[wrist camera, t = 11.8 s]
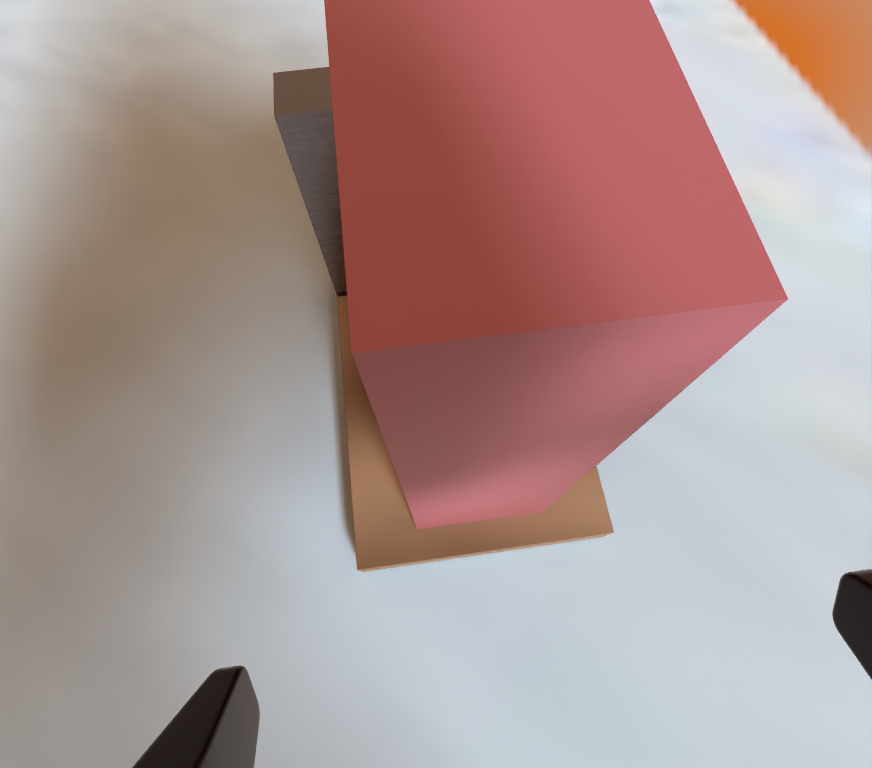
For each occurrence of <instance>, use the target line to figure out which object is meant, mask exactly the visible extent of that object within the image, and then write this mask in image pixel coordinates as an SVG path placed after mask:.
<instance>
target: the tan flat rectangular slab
mask: <svg viewBox="0 0 872 768" xmlns="http://www.w3.org/2000/svg"><path fill="white" fill-rule="evenodd" d="M337 301H338V315H339V329H340V342H341V356H342V369H343V383H344V397H345V410H346V424H347V437H348V451H349V465H350V478H351V492H352V505H353V519H354V533H355V546H356V560H357V570H359V571H362V572H364V571H371V570H378V569H385V568H392V567H398V566H405V565H412V564H419V563H426V562H433V561H440V560H446V559H453V558H460V557H467V556H474V555H481V554H488V553H494V552H501V551H508V550H515V549H522V548H529V547H535V546H542V545H549V544H556V543H563V542H570V541H577V540H583V539H590V538H597V537H603V536H606V535H608V534H611V533H613V532H614V531H613V527H612V524H611V520H610V516H609V512H608V508H607V505H606V501H605V497H604V493H603V489H602V486H601V482H600V478H599V474H598V470H597V467H596V466H595V467H594V468H593V469H592V470H591V471H589V472H588V473H587V474H586V475H585V476H584V477H583V478H581V479H580V480H579V481H578V482H577V483H576V484H575V485H573V486H572V487H571V488H570V489H569V490H568V491H566V492H565V493H564V494H563V495H562V496H561V497H560V498H558V499H557V500H556V501H555V502H554V503H553V504H552V505H550V506H549V507H548V508H547V509H546V510H545V511H543V512H539V513H532V514H524V515H517V516H510V517H503V518H496V519H488V520H481V521H474V522H467V523H460V524H452V525H445V526H438V527H431V528H424V529H417V527H416V524H415V522H414V519H413V516H412V514H411V511H410V508H409V506H408V503H407V500H406V498H405V495H404V492H403V489H402V487H401V484H400V481H399V479H398V476H397V473H396V471H395V468H394V465H393V463H392V460H391V457H390V455H389V452H388V449H387V447H386V444H385V441H384V439H383V436H382V433H381V431H380V428H379V425H378V422H377V420H376V417H375V414H374V412H373V409H372V406H371V404H370V401H369V398H368V396H367V393H366V390H365V388H364V385H363V382H362V380H361V377H360V374H359V372H358V369H357V366H356V364H355V361H354V358H353V355H352V350H351V337H350V324H349V312H348V299H347V296H339V297H337Z"/></svg>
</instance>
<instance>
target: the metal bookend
mask: <svg viewBox="0 0 872 768" xmlns="http://www.w3.org/2000/svg"><path fill="white" fill-rule="evenodd" d="M273 77H274V116H275V119H276V122H277V125H278V128H279V131H280V133H281V136H282V139H283V142H284V145H285V148H286V151H287V153H288V156H289V159H290V162H291V165H292V168H293V171H294V173H295V176H296V179H297V182H298V185H299V188H300V191H301V193H302V196H303V199H304V202H305V205H306V208H307V211H308V214H309V216H310V219H311V222H312V225H313V228H314V231H315V234H316V236H317V239H318V242H319V245H320V248H321V251H322V254H323V256H324V259H325V262H326V265H327V268H328V271H329V274H330V276H331V279H332V282H333V285H334V288H335V291H336V294H337V296H338V297H339V296H347V286H346V273H345V260H344V247H343V234H342V222H341V209H340V196H339V183H338V170H337V157H336V144H335V131H334V119H333V106H332V93H331V80H330V67H325V68H316V69H306V70H297V71H287V72H278V73H273Z"/></svg>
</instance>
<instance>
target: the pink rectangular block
mask: <svg viewBox="0 0 872 768" xmlns="http://www.w3.org/2000/svg"><path fill="white" fill-rule="evenodd" d="M324 3H325V16H326V29H327V41H328V54H329V67H330V80H331V93H332V106H333V119H334V131H335V144H336V157H337V170H338V183H339V196H340V209H341V222H342V234H343V247H344V260H345V273H346V286H347V299H348V312H349V324H350V337H351V350H352V355H353V358H354V361H355V364H356V366H357V369H358V372H359V374H360V377H361V380H362V382H363V385H364V388H365V390H366V393H367V396H368V398H369V401H370V404H371V406H372V409H373V412H374V414H375V417H376V420H377V422H378V425H379V428H380V431H381V433H382V436H383V439H384V441H385V444H386V447H387V449H388V452H389V455H390V457H391V460H392V463H393V465H394V468H395V471H396V473H397V476H398V479H399V481H400V484H401V487H402V489H403V492H404V495H405V498H406V500H407V503H408V506H409V508H410V511H411V514H412V516H413V519H414V522H415V524H416V527H417V529H424V528H431V527H438V526H445V525H452V524H460V523H467V522H474V521H481V520H488V519H496V518H503V517H510V516H517V515H524V514H532V513H539V512H543V511H545V510H546V509H547V508H548V507H549V506H550V505H552V504H553V503H554V502H555V501H556V500H557V499H558V498H560V497H561V496H562V495H563V494H564V493H565V492H566V491H568V490H569V489H570V488H571V487H572V486H573V485H575V484H576V483H577V482H578V481H579V480H580V479H581V478H583V477H584V476H585V475H586V474H587V473H588V472H589V471H591V470H592V469H593V468H594V467H595V466H596V465H598V464H599V463H600V462H601V461H602V460H603V459H604V458H606V457H607V456H608V455H609V454H610V453H611V452H613V451H614V450H615V449H616V448H617V447H618V446H619V445H621V444H622V443H623V442H624V441H625V440H626V439H627V438H629V437H630V436H631V435H632V434H633V433H634V432H636V431H637V430H638V429H639V428H640V427H641V426H642V425H644V424H645V423H646V422H647V421H648V420H649V419H650V418H652V417H653V416H654V415H655V414H656V413H657V412H659V411H660V410H661V409H662V408H663V407H664V406H665V405H667V404H668V403H669V402H670V401H671V400H672V399H673V398H675V397H676V396H677V395H678V394H679V393H680V392H682V391H683V390H684V389H685V388H686V387H687V386H688V385H690V384H691V383H692V382H693V381H694V380H695V379H697V378H698V377H699V376H700V375H701V374H702V373H703V372H705V371H706V370H707V369H708V368H709V367H710V366H711V365H713V364H714V363H715V362H716V361H717V360H718V359H720V358H721V357H722V356H723V355H724V354H725V353H726V352H728V351H729V350H730V349H731V348H732V347H733V346H734V345H736V344H737V343H738V342H739V341H740V340H741V339H743V338H744V337H745V336H746V335H747V334H748V333H749V332H751V331H752V330H753V329H754V328H755V327H756V326H757V325H759V324H760V323H761V322H762V321H763V320H764V319H766V318H767V317H768V316H769V315H770V314H771V313H772V312H774V311H775V310H776V309H777V308H778V307H779V306H781V305H782V304H783V303H784V302H785V301H786V300H787V299H788V298H787V296H786V294H785V291H784V289H783V287H782V285H781V283H780V281H779V278H778V276H777V274H776V272H775V270H774V268H773V266H772V263H771V261H770V259H769V257H768V255H767V253H766V251H765V248H764V246H763V244H762V242H761V240H760V238H759V235H758V233H757V231H756V229H755V227H754V225H753V223H752V220H751V218H750V216H749V214H748V212H747V210H746V207H745V205H744V203H743V201H742V199H741V197H740V195H739V192H738V190H737V188H736V186H735V184H734V182H733V180H732V177H731V175H730V173H729V171H728V169H727V167H726V164H725V162H724V160H723V158H722V156H721V154H720V152H719V149H718V147H717V145H716V143H715V141H714V139H713V137H712V134H711V132H710V130H709V128H708V126H707V124H706V121H705V119H704V117H703V115H702V113H701V111H700V109H699V106H698V104H697V102H696V100H695V98H694V96H693V94H692V91H691V89H690V87H689V85H688V83H687V81H686V78H685V76H684V74H683V72H682V70H681V68H680V66H679V63H678V61H677V59H676V57H675V55H674V53H673V51H672V48H671V46H670V44H669V42H668V40H667V38H666V35H665V33H664V31H663V29H662V27H661V25H660V23H659V20H658V18H657V16H656V14H655V12H654V10H653V7H652V5H651V3H650V1H649V0H324Z"/></svg>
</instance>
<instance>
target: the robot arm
mask: <svg viewBox="0 0 872 768" xmlns="http://www.w3.org/2000/svg"><path fill="white" fill-rule="evenodd" d="M832 614H833V620H834V624H835V626H836V628H837V630H838V631H839V633H840V635H841V636H842V637H843V639H844V640H845V642H846V643H847V645H848V646H849V648H850V649H851V650H852V652H853V653H854V655H855V656H856V658H857V659H858V661H859V662H860V663H861V665H862V666H863V668H864V669H865V671H866V672H867V674H868V675H869V676H870V678H871V679H872V570H869V569H868V570H860V571H854V572H848V573H845V574H844V575H843V576H842V577H841V579H840V582H839V586H838V591H837V595H836V599H835V603H834V608H833V613H832ZM259 717H260V713H259V704H258V701H257V698H256V695H255V692H254V689H253V686H252V683H251V680H250V677H249V674H248V672H247V670H246V668H245V667H244V666H233V667H227V668H220V669H217V670H215V671H214V672H213V673H211V674H210V675H209V677H208V678H207V679H206V680H205V681H204V683H203V684H202V685H201V686H200V687H199V689H198V690H197V691H196V692H195V693H194V695H193V696H192V697H191V698H190V699H189V700H188V702H187V703H186V704H185V705H184V706H183V708H182V709H181V710H180V711H179V712H178V714H177V715H176V716H175V717H174V718H173V720H172V721H171V722H170V723H169V724H168V726H167V727H166V728H165V729H164V730H163V732H162V733H161V734H160V735H159V736H158V738H157V739H156V740H155V741H154V742H153V743H152V745H151V746H150V747H149V748H148V749H147V751H146V752H145V753H144V754H143V755H142V757H141V758H140V759H139V760H138V761H137V763H136V764H135V765H134V766H133V767H132V768H254V761H255V753H256V745H257V737H258V728H259Z"/></svg>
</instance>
